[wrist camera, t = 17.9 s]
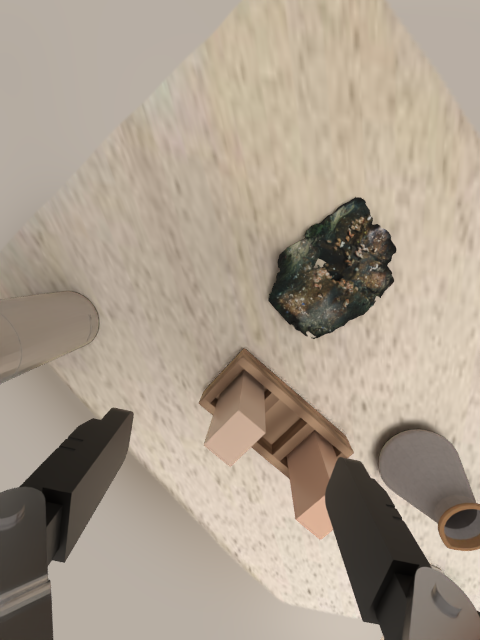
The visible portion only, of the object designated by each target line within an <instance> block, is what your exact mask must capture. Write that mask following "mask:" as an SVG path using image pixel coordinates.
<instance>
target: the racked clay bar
mask: <svg viewBox="0 0 480 640" xmlns="http://www.w3.org/2000/svg"><path fill="white" fill-rule="evenodd" d="M265 433H266V426H265V398H264V386H263V385H262V384H261V383H260V382H259V381H258V380H256V379H255V378H254V377H253V376H252V375H251V374H249V373H248V372H247V371H246V370H245V369H244V370H243V371H242V372H241V373H240V374H239V375H238V376H237V377H236V378H235V379H234V380H233V381H232V382H231V383H230V385H229V386H228V387H227V388H226V389H225V390H224V391H223V392H222V393H221V394H220V395H219V398H218V401H217V404H216V408H215V411H214V414H213V417H212V420H211V423H210V427H209V430H208V433H207V436H206V439H205V443H204V446H205V447H207V448H208V449H209V450H210V451H211V452H213V453H214V454H215V455H216V456H218V457H219V458H220V459H221V460H223V461H224V462H225V463H226V464H227V465H229V466H230V467H231V466H232V465H233V464H234V463H235V462H236V461H237V460H238V459H239V458H240V457H241V456H242V455H243V454H244V453H245V452H246V451H247V450H248V449H250V448H251V447H252V446H253V445H254V444H255V443H256V442H257V441H258V440H259V439H260V438H261V437H262V436H263V435H264V434H265Z"/></svg>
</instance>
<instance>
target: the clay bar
mask: <svg viewBox="0 0 480 640" xmlns="http://www.w3.org/2000/svg"><path fill="white" fill-rule="evenodd" d="M336 461H337V456H336V454H335V451H334V449H333V446H332V444H331V443H330V442H329V441H328V440H327V439H325V438H324V437H323V436H322V435H321V434H320V433H318V432H317V431H316V430H314V431H313V432H312V433H311V434H309V435H308V436H307V437H306V438H305V439H304V440H303V441H302V442H301V443H300V444H298V445H297V446H296V447H295V448H294V449H293V450H292V451H291V452H290V453H289V454H287V462H288V469H289V476H290V483H291V490H292V498H293V505H294V512H295V519H296V520H297V521H298V522H299V523H300V524H302V525H303V526H304V527H305V528H306V529H308V530H309V531H310V532H311V533H313V534H314V535H315V536H316V537H318V538H319V539H320V540H321V539H322V538H323V537H325V536H326V535H327V534H328V533H330V532H331V531H332V530H333V527H332V524H331V521H330V518H329V515H328V512H327V509H326V505H325V491H326V487H327V485H328V482H329V479H330V477H331V474H332V471H333V469H334V466H335V464H336Z"/></svg>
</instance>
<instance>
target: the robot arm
mask: <svg viewBox="0 0 480 640" xmlns="http://www.w3.org/2000/svg"><path fill="white" fill-rule="evenodd" d="M98 327H99V319H98V314H97V312H96V310H95V308H94V306H93V305H92V303H91V302H90V301H89V300H88V299H87V298H85V297H84V296H82V295H81V294H78V293H76V292H71V291H62V292H54V293H47V294H38V295H31V296H23V297H15V298H8V299H0V384H2V383H4V382H6V381H8V380H10V379H12V378H15V377H17V376H19V375H21V374H23V373H25V372H28V371H30V370H32V369H34V368H37V367H39V366H41V365H43V364H45V363H48V362H50V361H52V360H54V359H56V358H59V357H61V356H63V355H65V354H67V353H70V352H72V351H74V350H76V349H78V348H81V347H83V346H85V345H87V344H89V343H90V342H91V341H92V340H93V339H94V338H95V336H96V334H97V332H98ZM133 415H134V414H133V412H132V411H127V410H123V409H118V408H111V409H110V411H109V412H108V413H107V414H106V415H105V416H104V417H103V419H102V420H98V419H94V418H93V419H91V420H89V421H87V422H85V423H84V424H82V425H80V426H78V427H77V428H76V430H74V432H73V433H72V434H70V436H69V437H68V439H66V440H65V441H64V442H63V443H62V444H61V445H60V446H59V448H57V449H56V450H55V451H54V452H53V453H52V454H51V455H50V456H49V457H48V458H47V459H46V460H45V461H44V462H43V463H42V464H41V465H40V466H39V467H38V468H37V469H36V470H35V471H34V473H33V474H32V475H31V476H30V477H29V478H28V479H27V480H26V481H25V482H24V483H23V484H22V485H21V486H20V487H18V488H13V489H9V490H6V491H3V492H1V493H0V640H53V622H52V598H51V584H50V580H48V565H49V564H50V562H51V561H52V560H55V561H59V562H65V561H66V559H67V558H68V556H69V554H70V552H71V551H72V549H73V547H74V546H75V544H76V542H77V541H78V539H79V537H80V535H81V534H82V532H83V530H84V529H85V527H86V525H87V524H88V522H89V520H90V518H91V517H92V515H93V513H94V512H95V510H96V508H97V506H98V505H99V503H100V501H101V500H102V498H103V496H104V494H105V493H106V491H107V489H108V488H109V486H110V484H111V482H112V481H113V479H114V478H115V476H116V474H117V472H118V471H119V469H120V467H121V466H122V464H123V462H124V459H125V457H126V454H127V451H128V447H129V442H130V435H131V429H132V423H133ZM325 505H326V509H327V512H328V515H329V518H330V521H331V524H332V527H333V530H334V534H335V537H336V540H337V543H338V546H339V549H340V552H341V555H342V558H343V561H344V564H345V567H346V571H347V574H348V577H349V580H350V583H351V586H352V589H353V592H354V595H355V598H356V601H357V605H358V608H359V611H360V614H361V617H362V620H363V621H364V622H369V623H374V624H379V625H380V628H381V630H382V633H383V636H382V638H381V640H480V612H478V611H476V609H475V607H474V605H473V604H472V602H471V601H470V599H469V598H468V597H467V595H466V594H465V593H464V592H463V591H462V590H461V589H460V588H459V587H458V586H457V585H456V584H455V583H454V582H453V581H452V580H451V579H449V578H448V577H447V576H445V575H444V574H442V573H441V572H439V571H437V570H435V569H432V567H431V565H430V564H429V562H428V560H427V559H426V557H425V555H424V554H423V552H422V550H421V549H420V547H419V545H418V544H417V542H416V540H415V539H414V537H413V535H412V534H411V532H410V530H409V529H408V527H407V525H406V524H405V522H404V521H402V517H401V515H400V514H399V512H398V510H397V509H395V505H394V504H393V502H392V500H391V499H390V497H389V496H388V494H387V492H386V491H385V490H384V489H383V488H382V487H381V486H380V485H379V484H378V483H377V482H376V481H375V479H372V478H370V476H369V474H368V472H367V471H366V469H365V467H364V465H363V464H362V463H361V462H360V461H357V460H352V459H348V458H343V457H339V458H338V459H337V461H336V464H335V466H334V469H333V471H332V474H331V477H330V479H329V482H328V485H327V487H326V491H325Z"/></svg>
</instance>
